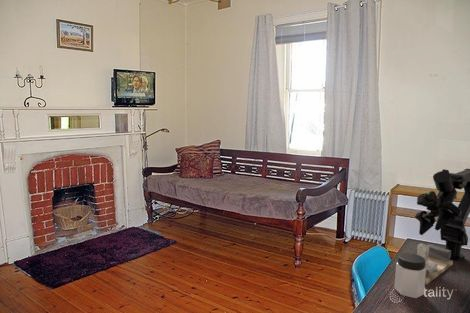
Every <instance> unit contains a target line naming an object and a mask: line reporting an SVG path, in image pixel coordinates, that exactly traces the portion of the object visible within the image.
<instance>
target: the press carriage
mask: <svg viewBox="0 0 470 313" xmlns="http://www.w3.org/2000/svg"><path fill="white" fill-rule="evenodd" d="M416 247H417V248H416V255H419V256H421V257H423V258H424V259H425V268H426V270H427V275H428V276H429V275H430V274H431V273H433V272H434V271H435V270H437V266H438V264H436V263H433V262H430V261H428V255H429V244H425V243H422V242H421V243H419V244H418V245H417V246H416Z"/></svg>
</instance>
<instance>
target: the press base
mask: <svg viewBox="0 0 470 313" xmlns="http://www.w3.org/2000/svg"><path fill="white" fill-rule="evenodd" d="M428 245H429V255H428V261H430V262H433V263H436V264H438V266H437V270H435V271H434V272H433V273H431V274H430V275H429V276H428V275H427V270H426V277H425V285H428V284H430V283H431V282H432V281H433V280H435V279H436V278H437V277H439V276H440V275H441V274H442V273H444V272H445V271H446V270H447V269H448V268H450V267H451V266H453V264H454V261H453V260H451V258H450V256H451V250H448V249H445V248H443V247H441V246H440V247H439V246H437V245H433V244H428Z"/></svg>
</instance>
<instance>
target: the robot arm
mask: <svg viewBox="0 0 470 313" xmlns="http://www.w3.org/2000/svg"><path fill="white" fill-rule="evenodd" d="M432 179H433V183H434V185H435V187H436V190H437V191H438V192H437V194H436V192H435V191H433V190H430V191H428V192H426V193H421V194H419V195H417V198H416V205H417V206H422V207H425V209H426V210H427V211H428V212H427V211H426V210H422V211H419V212H417V213H415V216H414V218H415V219H416V220H417V221H419V231H418V232H419V233H418V234H419V235H420V236H423V235H424V234H425V233H427V232H428V231H429V230H430V229H431V228H432V227H434V230H435V231H437V232H438V231H439V232H440V240H441V241H445V245H444V247H445V248H444V249H448V250H451V256H450V259H453V260H457V261H460V260H461V259H462V258H464V254H462V248H463V247H464V246H468V243H469V236H468V234H467V230H466V227H465V225H466V221H467V219H468V217H469V215H470V168H465V169H463V170H462V171H458V172H456V173H454V172H450V171H449V169H445V168H444V169H442V170H440V171H437V172H436V173H434V174H433V176H432ZM457 190H461V191H462V190H463V191H464V194H463V196H462V198H461V200H460V201H459V204H458V205H456V204H454V203H453V202H454V201H455V200H457V195H458V192H457ZM436 218H437V220H436ZM434 224H435V226H434Z"/></svg>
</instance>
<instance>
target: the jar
mask: <svg viewBox="0 0 470 313" xmlns="http://www.w3.org/2000/svg"><path fill="white" fill-rule="evenodd" d="M394 275H395V277H394V289H395V290H396V291H397V292H398V293H399V294H400V296H404V297H409V298H414V299H417V298H420V297H421V296H423V295H424V294H425V285H426V283H425V277H426V268H425V259H424V258H423V257H421V256H419V255H417V253H416V254H415V253H413V252H401V253H399V254H398V256H397V262H396V263H395V274H394Z"/></svg>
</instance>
